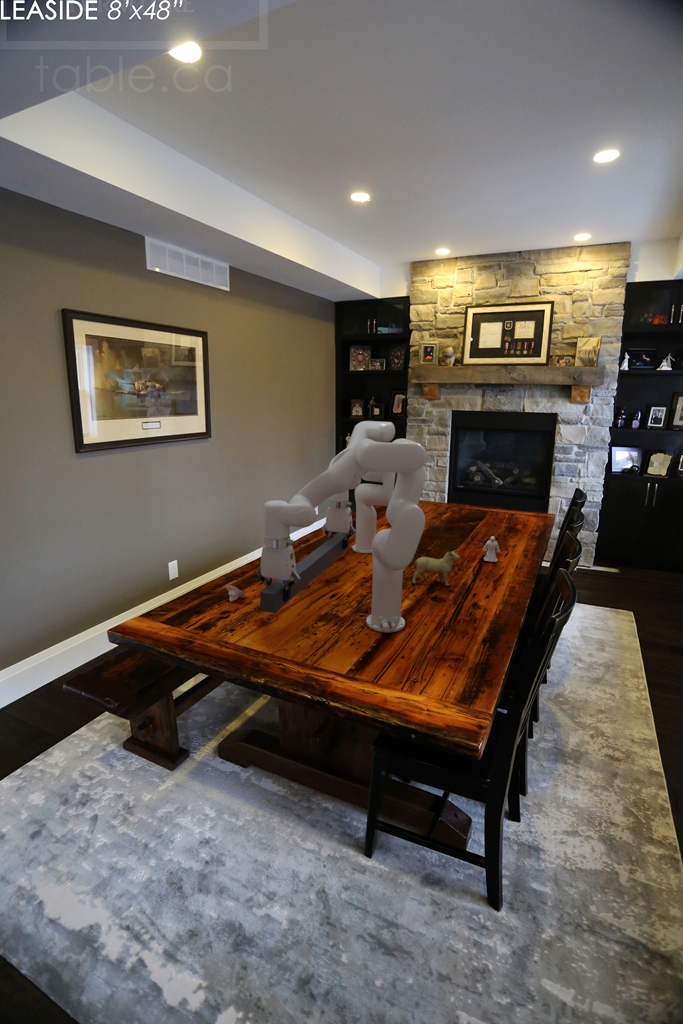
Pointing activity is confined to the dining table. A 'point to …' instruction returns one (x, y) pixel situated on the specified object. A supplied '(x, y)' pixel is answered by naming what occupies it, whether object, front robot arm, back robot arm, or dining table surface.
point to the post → (303, 573)
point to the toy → (435, 566)
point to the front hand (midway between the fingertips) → (278, 597)
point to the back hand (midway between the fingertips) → (338, 547)
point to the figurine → (491, 550)
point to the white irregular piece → (234, 592)
